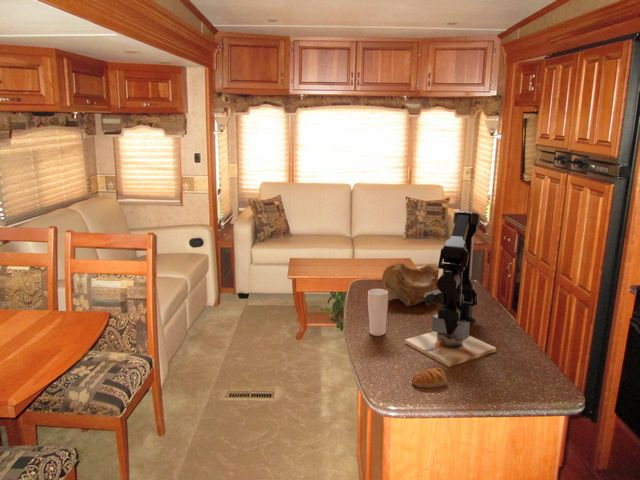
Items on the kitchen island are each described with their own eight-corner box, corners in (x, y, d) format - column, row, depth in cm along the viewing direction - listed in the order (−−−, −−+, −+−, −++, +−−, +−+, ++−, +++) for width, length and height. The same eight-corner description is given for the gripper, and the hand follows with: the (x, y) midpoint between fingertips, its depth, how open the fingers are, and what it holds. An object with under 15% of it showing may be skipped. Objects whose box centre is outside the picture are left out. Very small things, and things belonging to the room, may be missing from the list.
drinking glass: (389, 330, 182) (390, 289, 179) (385, 338, 176) (385, 295, 173) (370, 328, 184) (370, 287, 181) (365, 336, 178) (365, 293, 175)
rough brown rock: (388, 312, 202) (391, 275, 197) (378, 294, 217) (381, 260, 213) (447, 310, 205) (451, 274, 200) (433, 293, 220) (436, 259, 216)
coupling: (442, 334, 175) (443, 311, 173) (471, 344, 168) (473, 320, 166) (422, 344, 168) (423, 320, 166) (452, 354, 160) (453, 330, 158)
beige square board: (450, 330, 182) (450, 326, 182) (495, 351, 166) (496, 347, 165) (405, 342, 172) (405, 338, 172) (448, 367, 156) (449, 362, 155)
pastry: (419, 392, 142) (420, 379, 141) (406, 381, 148) (407, 368, 147) (449, 385, 145) (449, 373, 145) (435, 375, 152) (435, 362, 151)
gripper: (430, 273, 175) (428, 317, 179) (421, 290, 158) (419, 339, 162) (465, 276, 172) (462, 321, 175) (459, 294, 155) (457, 344, 158)
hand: (450, 331), depth 168 cm, fingers closed on coupling, 6 cm apart
